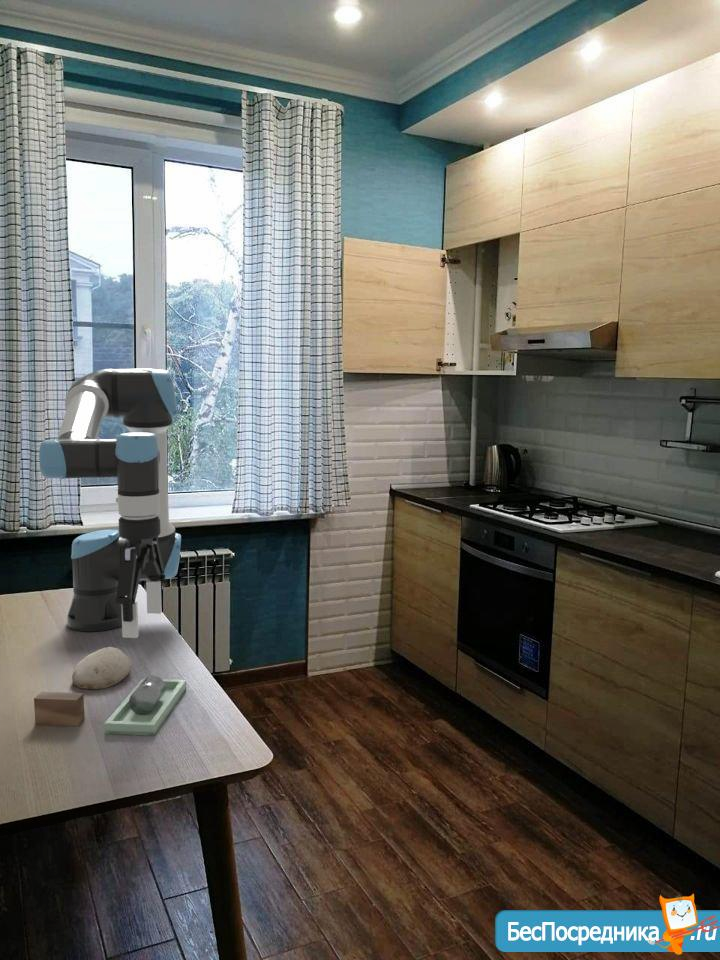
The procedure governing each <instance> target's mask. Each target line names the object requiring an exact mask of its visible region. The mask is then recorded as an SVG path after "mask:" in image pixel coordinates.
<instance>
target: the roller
mask: <svg viewBox="0 0 720 960" xmlns="http://www.w3.org/2000/svg"><path fill="white" fill-rule="evenodd" d="M144 679H145V680H144V681H143V682H142V683H141V684H140V685H139V687H138V688H137V689H136V690H135V691H134V693H133V694H132V695H131V696H130V699H129V705H130V708H131V709H132V711H133V712H135V713H136V714H139V715H146V714H149V713H150V712H151V711H152V710H153V709H154V707H155V706H156V705H157V703H158V702H159V701H160V699H161V698H162V696H163V695H164V694H165V691H166V685H165V683H164V681H163V680H162V679H163V678H161V677H159V676H156V675H149V676H147V677H145V678H144Z"/></svg>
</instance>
